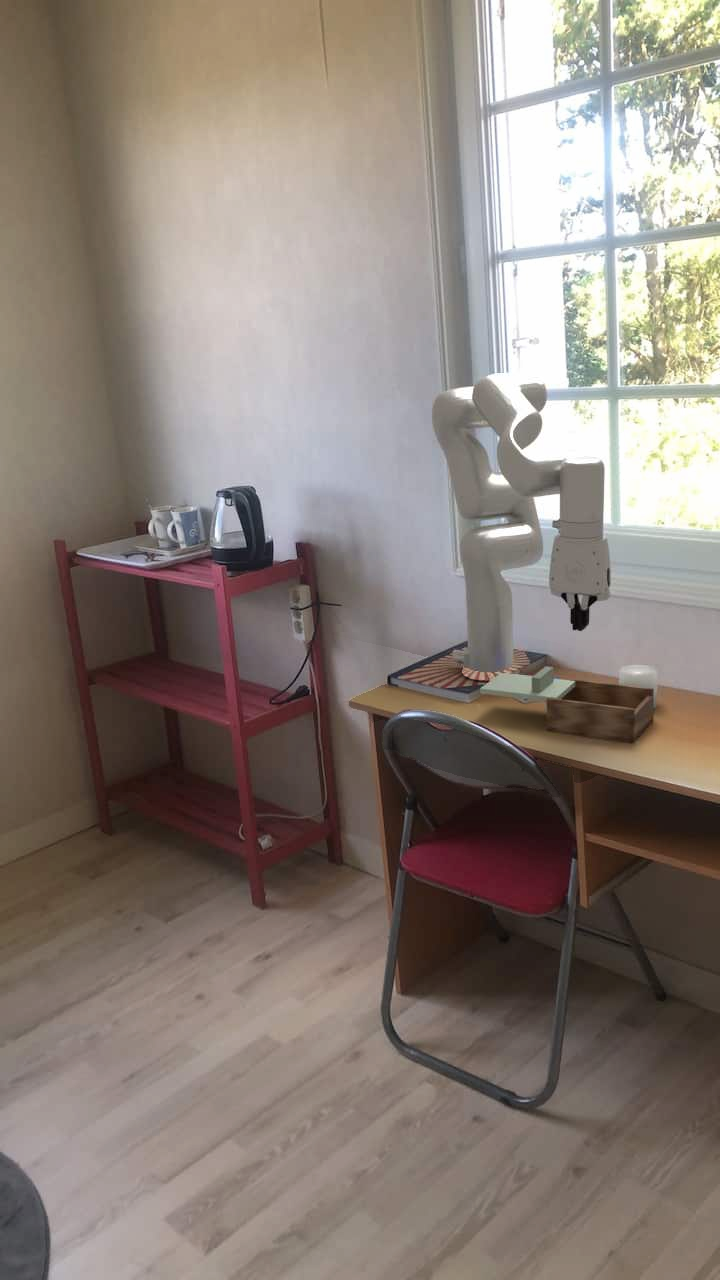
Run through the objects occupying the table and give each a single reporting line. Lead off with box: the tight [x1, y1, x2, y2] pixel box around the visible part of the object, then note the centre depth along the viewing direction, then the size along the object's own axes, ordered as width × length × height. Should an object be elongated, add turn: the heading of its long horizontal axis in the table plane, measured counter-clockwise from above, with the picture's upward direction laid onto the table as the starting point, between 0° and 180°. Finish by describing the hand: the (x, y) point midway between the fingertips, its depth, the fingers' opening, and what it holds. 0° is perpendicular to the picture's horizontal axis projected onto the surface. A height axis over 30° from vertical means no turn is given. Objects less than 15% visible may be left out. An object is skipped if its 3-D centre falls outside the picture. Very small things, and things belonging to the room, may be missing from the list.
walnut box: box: [546, 678, 654, 744], centre depth 199 cm, size 16×12×6 cm
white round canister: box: [618, 664, 658, 710], centre depth 208 cm, size 7×7×7 cm
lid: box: [479, 666, 575, 703], centre depth 205 cm, size 15×10×4 cm, turn 59°
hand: (579, 628), depth 197 cm, fingers closed
